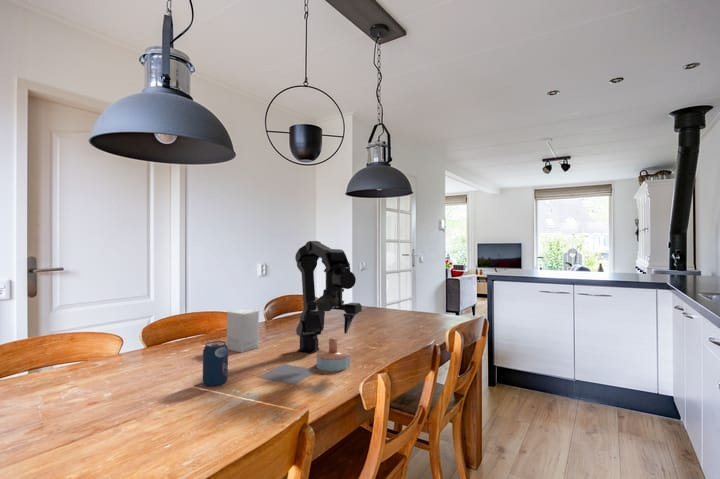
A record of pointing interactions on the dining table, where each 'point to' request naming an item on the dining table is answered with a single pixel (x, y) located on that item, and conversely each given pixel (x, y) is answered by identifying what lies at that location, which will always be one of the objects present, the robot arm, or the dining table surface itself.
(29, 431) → the dining table surface
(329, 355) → the lid
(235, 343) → the supplement box
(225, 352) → the soda can
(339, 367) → the bowl
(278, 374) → the mat
